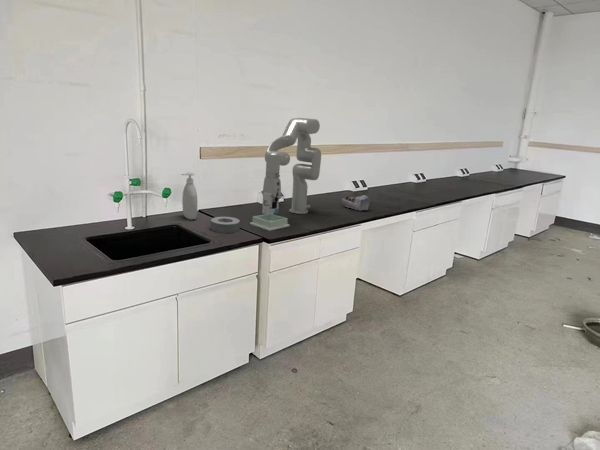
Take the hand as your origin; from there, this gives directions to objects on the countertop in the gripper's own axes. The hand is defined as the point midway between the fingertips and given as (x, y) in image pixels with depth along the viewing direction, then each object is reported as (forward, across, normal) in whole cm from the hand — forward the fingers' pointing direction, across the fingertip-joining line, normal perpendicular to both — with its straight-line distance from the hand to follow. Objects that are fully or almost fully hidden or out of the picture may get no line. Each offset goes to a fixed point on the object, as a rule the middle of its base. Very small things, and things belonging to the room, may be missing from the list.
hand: (270, 207), depth 231 cm
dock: (+11, 0, 0) cm, 11 cm away
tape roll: (+11, +9, +25) cm, 29 cm away
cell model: (+11, -4, -82) cm, 83 cm away
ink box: (+4, 0, 0) cm, 4 cm away
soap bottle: (+11, +38, +28) cm, 48 cm away
